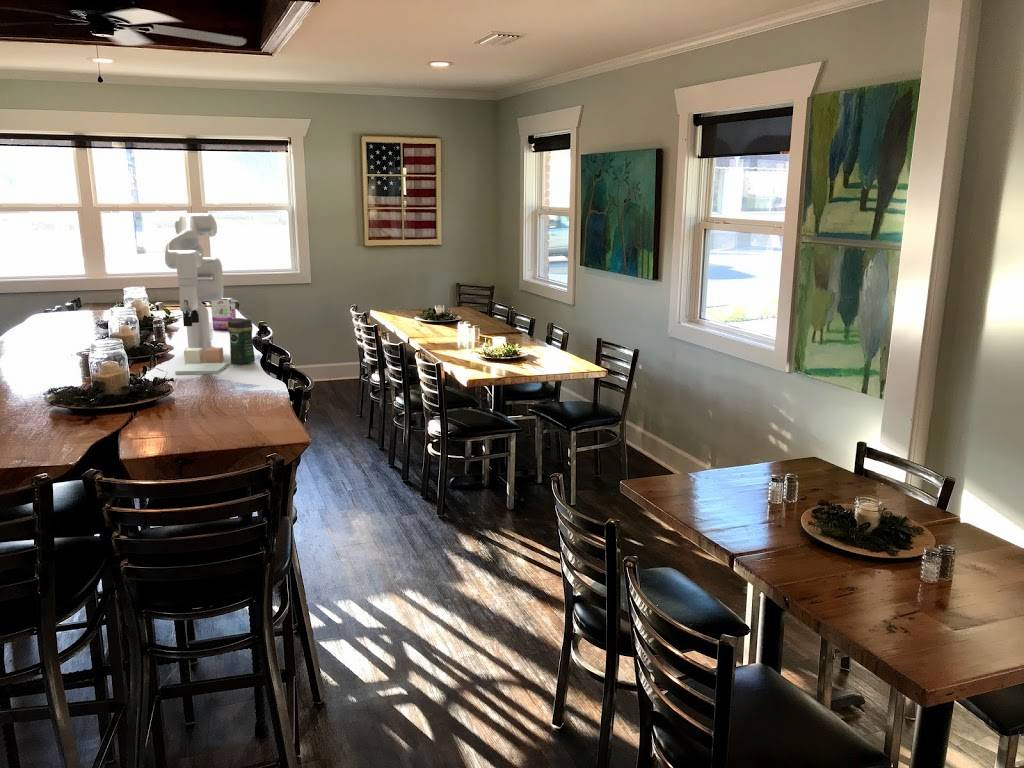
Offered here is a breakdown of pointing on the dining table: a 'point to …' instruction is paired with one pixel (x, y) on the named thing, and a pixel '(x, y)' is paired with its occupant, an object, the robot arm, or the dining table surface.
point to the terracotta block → (213, 355)
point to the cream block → (193, 355)
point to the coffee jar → (241, 341)
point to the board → (202, 368)
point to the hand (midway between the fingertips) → (191, 324)
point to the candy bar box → (222, 312)
